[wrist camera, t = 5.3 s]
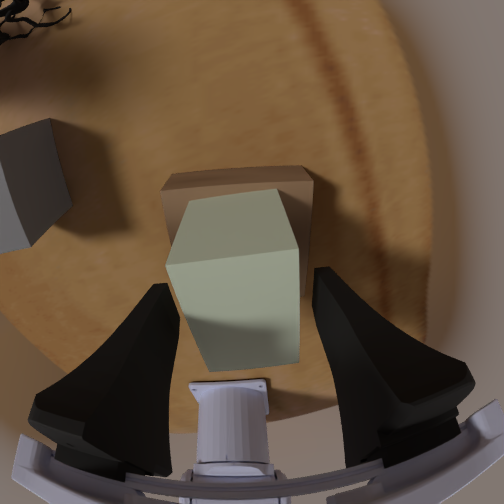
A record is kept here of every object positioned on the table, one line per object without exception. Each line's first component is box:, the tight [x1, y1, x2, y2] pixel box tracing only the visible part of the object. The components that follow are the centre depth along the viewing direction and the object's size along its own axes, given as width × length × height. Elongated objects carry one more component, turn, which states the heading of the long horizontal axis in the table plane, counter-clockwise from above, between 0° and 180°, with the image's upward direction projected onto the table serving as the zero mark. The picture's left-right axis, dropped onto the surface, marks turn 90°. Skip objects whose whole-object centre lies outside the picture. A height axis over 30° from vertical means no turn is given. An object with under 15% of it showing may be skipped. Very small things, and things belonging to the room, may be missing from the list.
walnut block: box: [160, 166, 314, 297], centre depth 15 cm, size 7×7×3 cm
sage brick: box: [165, 189, 300, 372], centre depth 12 cm, size 6×4×5 cm, turn 7°
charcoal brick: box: [0, 118, 73, 254], centre depth 11 cm, size 6×4×5 cm, turn 5°
